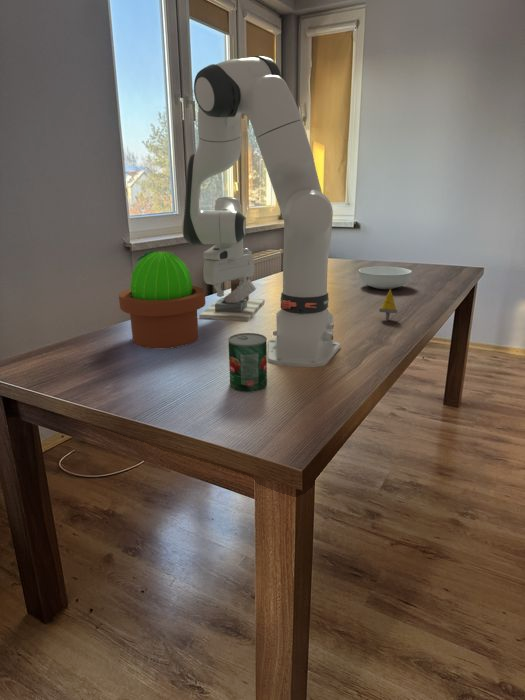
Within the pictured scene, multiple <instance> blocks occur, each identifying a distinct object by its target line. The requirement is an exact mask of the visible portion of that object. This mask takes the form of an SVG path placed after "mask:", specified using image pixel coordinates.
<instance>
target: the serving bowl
mask: <svg viewBox="0 0 525 700" xmlns="http://www.w3.org/2000/svg"><path fill="white" fill-rule="evenodd" d="M412 271H413V270H411V269H409V268H404V267H397V266H369V267H362V268H360V269H359V268H358V277H359V280H360V281H361V282H362V283H363V284H364V285H366V286H369V287H372V288H374V289H378V290H390V289H391V290H393V289H395V288H399V287H402V286H404V285H406V284H407V283H408V282H409V281H410V279H411V277H412V274H413V272H412Z"/></svg>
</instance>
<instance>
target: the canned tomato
mask: <svg viewBox="0 0 525 700" xmlns="http://www.w3.org/2000/svg"><path fill="white" fill-rule="evenodd" d="M227 341H228V361H229V363H228V364H229V365H228V367H229V369H228V371H229V385H230V388H231V389H232V390H234V391H237V392H241V393H254V392H259V391H262V390H263V389H266V388H267V386H268V363H267V362H268V343H267V341H268V339H267V337H266V336H265V335H264V334H260V333H257V332H256V333H255V332H242V333H241V332H240V333H236V334H233V335H231V336H229V337H228V339H227Z"/></svg>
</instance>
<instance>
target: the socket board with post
mask: <svg viewBox="0 0 525 700" xmlns="http://www.w3.org/2000/svg"><path fill="white" fill-rule="evenodd" d="M248 279H249V277H246V281H247V280H248ZM239 283H240V280H239V279H236V280H231V281H230V293H231V292H232V291H234V290H235V289H236V288H237V286H239ZM223 298H224V297H219V299H218V300H216V301H215V302H214V303H212V304H211V305H210V306H209V307H207V308H206V309H205V310H203V311H202V312H200V314H199V316H198V317H199V319H204V318H216V319H215V320H223V319H228V320H227V321H241V320H242V322H243V321H245V322H249V321H251V319H252V318H253V317H254V316H255V314H257V312H258V311H259V310H260V309H261V308H262V307H263V306H264V305H265V300H266V299H264V298H263V299H262V298H250V294H249V295H248V296H247V297H245V298H244V299H243V300H241V301H240V302H239V303H237V304H229V303H226V301H225V300H224V299H223ZM262 305H263V306H262ZM261 306H262V307H261ZM260 307H261V308H260ZM259 308H260V309H259Z"/></svg>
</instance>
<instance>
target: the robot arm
mask: <svg viewBox="0 0 525 700" xmlns="http://www.w3.org/2000/svg"><path fill="white" fill-rule="evenodd" d="M193 94H194V97H195V102H196V104H197V105H198V109H197V131H198V144H197V145H198V146H197V149H196V151H195V153H192V154H191V155H190V157H189V160H188V163H187V168H186V169H187V171H186V181H185V182H186V183H185V198H184V213H183V218H182V224H181V231H182V236H183V238H184V240H185V241H186V242H187V243H188V244H190V245H192V246H193V247H195V246H203V245H204V246H205V245H212V246H211V247H210V248H208V249H206V250H205V251H203V255H202V257H203V259H205V260H204V262H203V267H202V268H203V271H202V272H203V273H202V274H203V281H204V282H205V283H206V284H207V285H212V286H213V287H214V289H215V291H216V296H217V297H219V298H222V297H225V290H222V287H221V286H222V283H226V282H231V280H236V279H239V280H240V283H239V286H240V285H242V284H243V283H244V282H246V277H248V278H249V277H252V276H254V273H255V264H254V263H255V262H254V258H253V252H252V250H251V249H249V247H245V248H244V238H245V237H246V236H247V228H246V226H247V225H246V224H247V223H246V222H247V221H246V220H247V218H246V217H245V216H244V215H243V211H242V204H241V200H240V199H239V198H237V197H233V196H222V197H219V198H217V199H215V204H214V210H203V209H200V198H201V186H202V184H203V183H204V182H205V181H206V180H207V179H209V178H211V177H213V176H216V175H219V174H221V173H224V172H225V171H228V170H229V169H230V168H232V167H233V166H235V164H237V161H239V158H240V156H241V154H242V124H241V117H242V114H243V115H245V116H246V117H247V118H248V119H249V122H250V124H251V127H252V131H253V134H254V136H255V140H256V143H257V146H258V149H259V151H260V154H261V158H262V160H263V163H264V167H265V168H266V172H267V174H268V178H269V180H270V183H271V187H272V189H273V193H274V196H275V198H276V201H277V203H278V204H277V205H278V208H279V210H280V214H281V216H282V219H283V251H282V252H283V253H282V255H283V256H282V291H281V294H280V295H281V296H280V299H279V301H280V310H279V311H277V312H276V317H275V318H276V319H275V320H276V330H273V332H272V333H273V334H272V335H273V336H274V338H269V339H267V341H268V342H267V362H269V363H270V364H274V365H279V366H288V367H295V368H296V367H297V368H298V367H300V368H315V367H324V366H326V365H327V364H328V363H329V362H330V361H331V359H332V358H333V357H334V356H335V354H336V353H337V352H338V351H339V350H340V349H341V344H340V342H337V341H334V326H335V325H334V319H335V317H334V315H333V314H332V313H331V312H330V311H329V309H328V308H329V300H330V299H329V293H328V267H329V265H328V264H329V257H330V256H329V255H330V248H331V242H332V241H331V238H332V231H333V229H332V228H333V215H334V210H333V206H332V205H333V204H331V201H330V200H329V197H327V196H326V195H325V194H324V193H323V192H322V188H321V185H320V179H319V177H318V172H317V169H316V168H317V167H316V164H315V159H314V155H313V150H312V149H311V148H312V147H311V145H310V141H309V138H308V135H307V132H306V131H307V130H306V129H305V125H304V123H303V118H302V117H301V114H300V111H299V108H298V104H297V103H296V101H295V97H294V95H293V93H292V91H291V90H290V88H289V86H288V84H287V83H286V81H285V79H284V78H282V75H281V71H280V68H279V66H278V65H277V62H275V61H274V59H272V58H270V57H267V56H261V55H255V56H253V57H242V58H232V59H227V60H224V61H221V62H218V63H215V64H209V65H207V66H205V67H203V68H202V69H200V70H199V71H198V72H197V74H196V76H195V78H194V82H193ZM239 286H237V288H238V287H239Z"/></svg>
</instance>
